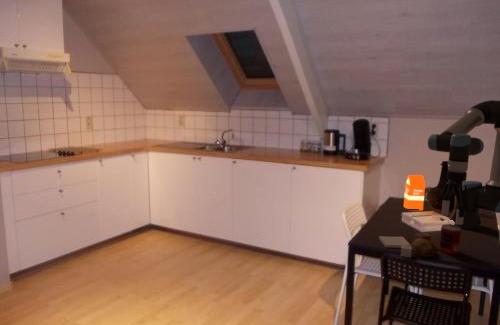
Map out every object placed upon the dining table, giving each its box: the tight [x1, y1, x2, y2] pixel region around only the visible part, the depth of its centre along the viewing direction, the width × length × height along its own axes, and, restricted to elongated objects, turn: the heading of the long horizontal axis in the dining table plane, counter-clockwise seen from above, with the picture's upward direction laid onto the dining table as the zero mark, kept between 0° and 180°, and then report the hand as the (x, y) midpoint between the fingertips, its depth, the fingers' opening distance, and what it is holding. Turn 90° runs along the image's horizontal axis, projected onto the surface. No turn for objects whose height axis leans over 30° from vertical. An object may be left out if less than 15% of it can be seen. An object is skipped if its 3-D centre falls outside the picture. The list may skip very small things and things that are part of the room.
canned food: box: [438, 223, 462, 255], centre depth 186 cm, size 8×8×11 cm
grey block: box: [400, 245, 412, 259], centre depth 180 cm, size 4×4×4 cm
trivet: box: [378, 235, 411, 249], centre depth 195 cm, size 11×11×1 cm
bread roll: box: [410, 238, 437, 258], centre depth 184 cm, size 10×10×8 cm
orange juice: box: [403, 174, 426, 211], centre depth 252 cm, size 8×9×20 cm
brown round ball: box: [413, 231, 432, 242], centre depth 193 cm, size 5×5×5 cm
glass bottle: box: [426, 160, 455, 210], centre depth 255 cm, size 18×18×28 cm
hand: (451, 219), depth 184 cm, fingers open, 13 cm apart
